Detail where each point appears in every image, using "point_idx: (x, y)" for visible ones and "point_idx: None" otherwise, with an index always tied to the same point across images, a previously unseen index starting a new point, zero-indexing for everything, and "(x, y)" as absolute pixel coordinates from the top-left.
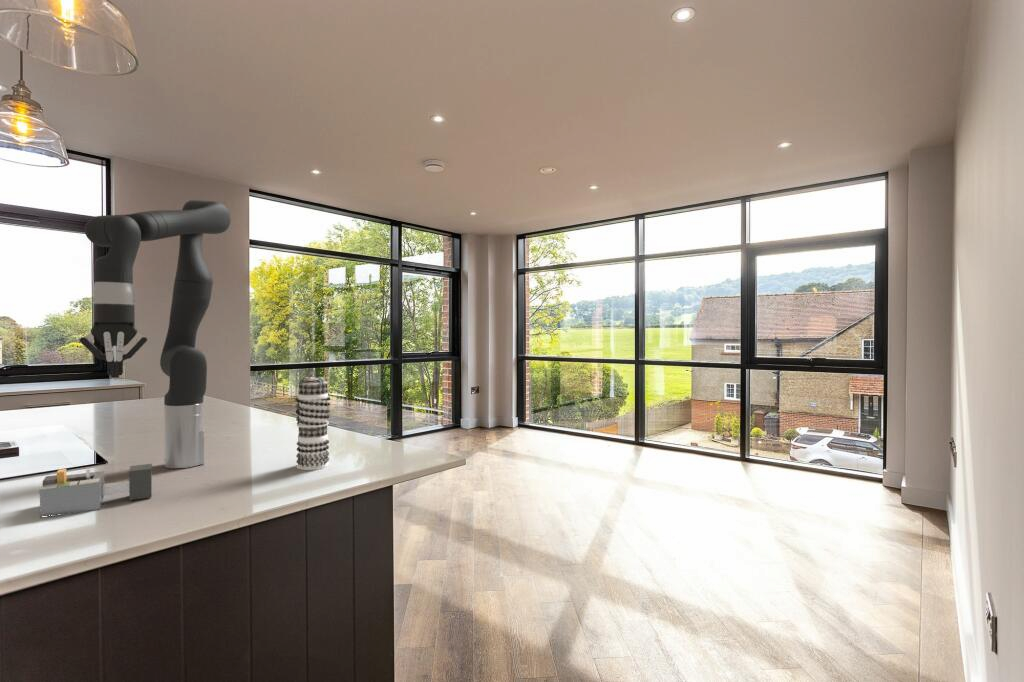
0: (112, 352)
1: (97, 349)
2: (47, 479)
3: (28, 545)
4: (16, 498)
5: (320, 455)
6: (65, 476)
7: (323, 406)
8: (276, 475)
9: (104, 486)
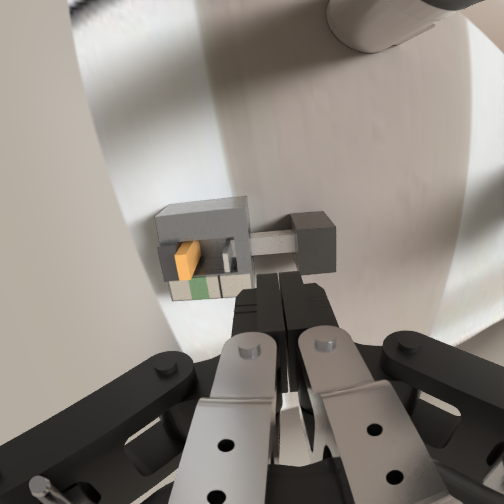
0: (278, 453)
1: (129, 433)
2: (168, 273)
3: None
4: (109, 146)
5: None
6: (190, 259)
7: None
8: (490, 205)
9: (255, 254)
